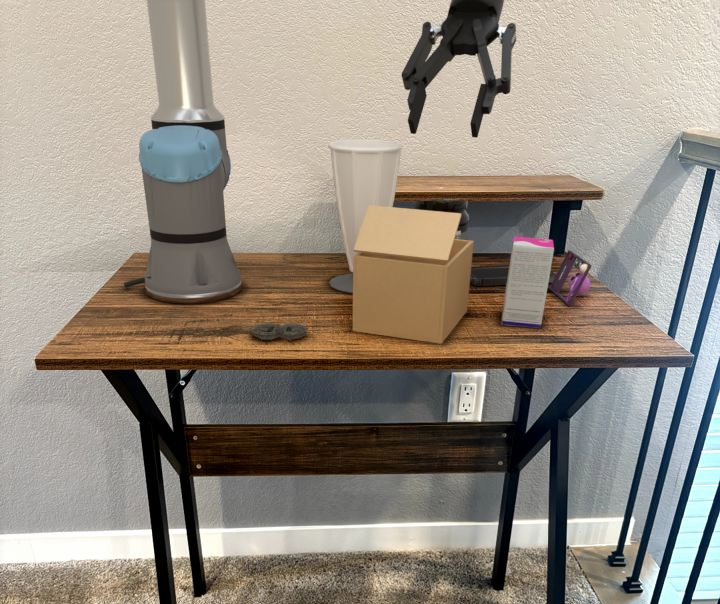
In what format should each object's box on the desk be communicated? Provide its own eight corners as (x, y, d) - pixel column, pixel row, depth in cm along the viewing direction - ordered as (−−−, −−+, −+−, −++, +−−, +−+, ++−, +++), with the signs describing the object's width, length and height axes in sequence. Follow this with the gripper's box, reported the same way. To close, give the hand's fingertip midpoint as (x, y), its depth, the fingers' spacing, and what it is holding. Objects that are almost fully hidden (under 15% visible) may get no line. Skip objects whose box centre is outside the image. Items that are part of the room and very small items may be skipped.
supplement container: (420, 254, 140) (423, 187, 134) (472, 261, 136) (479, 193, 130) (398, 267, 132) (401, 197, 125) (453, 275, 128) (459, 203, 122)
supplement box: (542, 328, 105) (554, 247, 99) (500, 325, 106) (510, 244, 100) (541, 315, 110) (553, 238, 104) (502, 312, 111) (511, 235, 105)
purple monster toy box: (564, 248, 118) (585, 263, 111) (591, 258, 120) (614, 274, 112) (545, 287, 121) (564, 304, 114) (571, 296, 123) (592, 314, 115)
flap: (447, 262, 94) (447, 260, 93) (354, 251, 97) (353, 249, 97) (461, 215, 96) (461, 213, 95) (369, 206, 99) (368, 204, 99)
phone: (460, 267, 128) (540, 263, 131) (459, 273, 128) (539, 269, 131) (474, 279, 121) (558, 275, 124) (474, 286, 122) (557, 282, 125)
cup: (343, 271, 129) (343, 137, 118) (405, 278, 126) (412, 141, 114) (318, 289, 119) (316, 145, 108) (385, 297, 116) (390, 150, 105)
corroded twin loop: (306, 342, 98) (306, 335, 98) (247, 341, 98) (247, 334, 98) (309, 329, 103) (309, 322, 102) (252, 328, 103) (252, 321, 102)
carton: (441, 344, 99) (447, 266, 94) (352, 331, 103) (353, 255, 98) (467, 311, 111) (473, 240, 106) (386, 300, 115) (388, 232, 110)
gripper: (551, 20, 107) (518, 151, 103) (414, 18, 114) (377, 142, 109) (552, -27, 100) (516, 112, 96) (405, -26, 106) (365, 105, 102)
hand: (442, 128), depth 102 cm, fingers open, 8 cm apart
